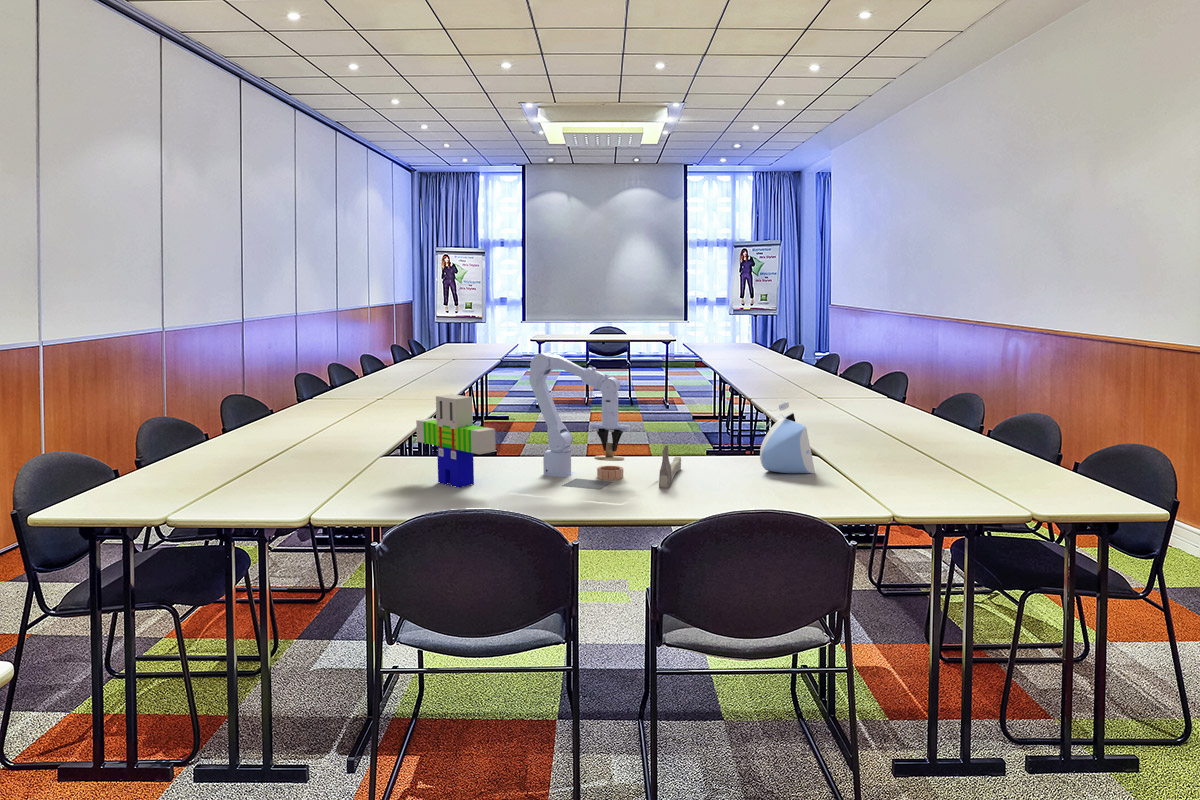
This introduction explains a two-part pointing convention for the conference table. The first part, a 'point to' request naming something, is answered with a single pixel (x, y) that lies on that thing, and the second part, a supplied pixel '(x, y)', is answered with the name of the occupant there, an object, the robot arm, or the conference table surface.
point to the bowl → (610, 472)
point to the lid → (609, 454)
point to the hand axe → (668, 469)
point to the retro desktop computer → (786, 446)
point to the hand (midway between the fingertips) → (610, 450)
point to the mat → (587, 484)
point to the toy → (455, 439)
